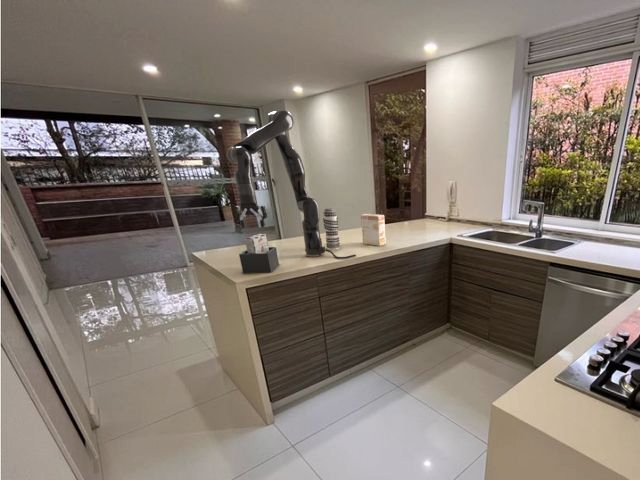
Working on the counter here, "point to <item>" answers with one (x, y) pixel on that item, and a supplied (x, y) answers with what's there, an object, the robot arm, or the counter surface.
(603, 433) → the counter surface
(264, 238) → the candy bar box
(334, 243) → the decorative candle
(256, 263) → the bin
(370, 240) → the coffeecake box
